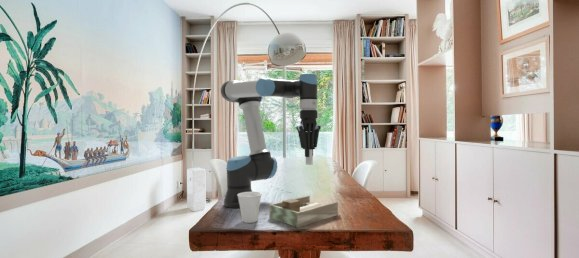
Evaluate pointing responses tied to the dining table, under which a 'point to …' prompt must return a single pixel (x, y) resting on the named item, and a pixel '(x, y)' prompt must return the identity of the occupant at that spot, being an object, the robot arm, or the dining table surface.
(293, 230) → the dining table surface
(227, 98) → the robot arm
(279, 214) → the box
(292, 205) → the block
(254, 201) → the cup
